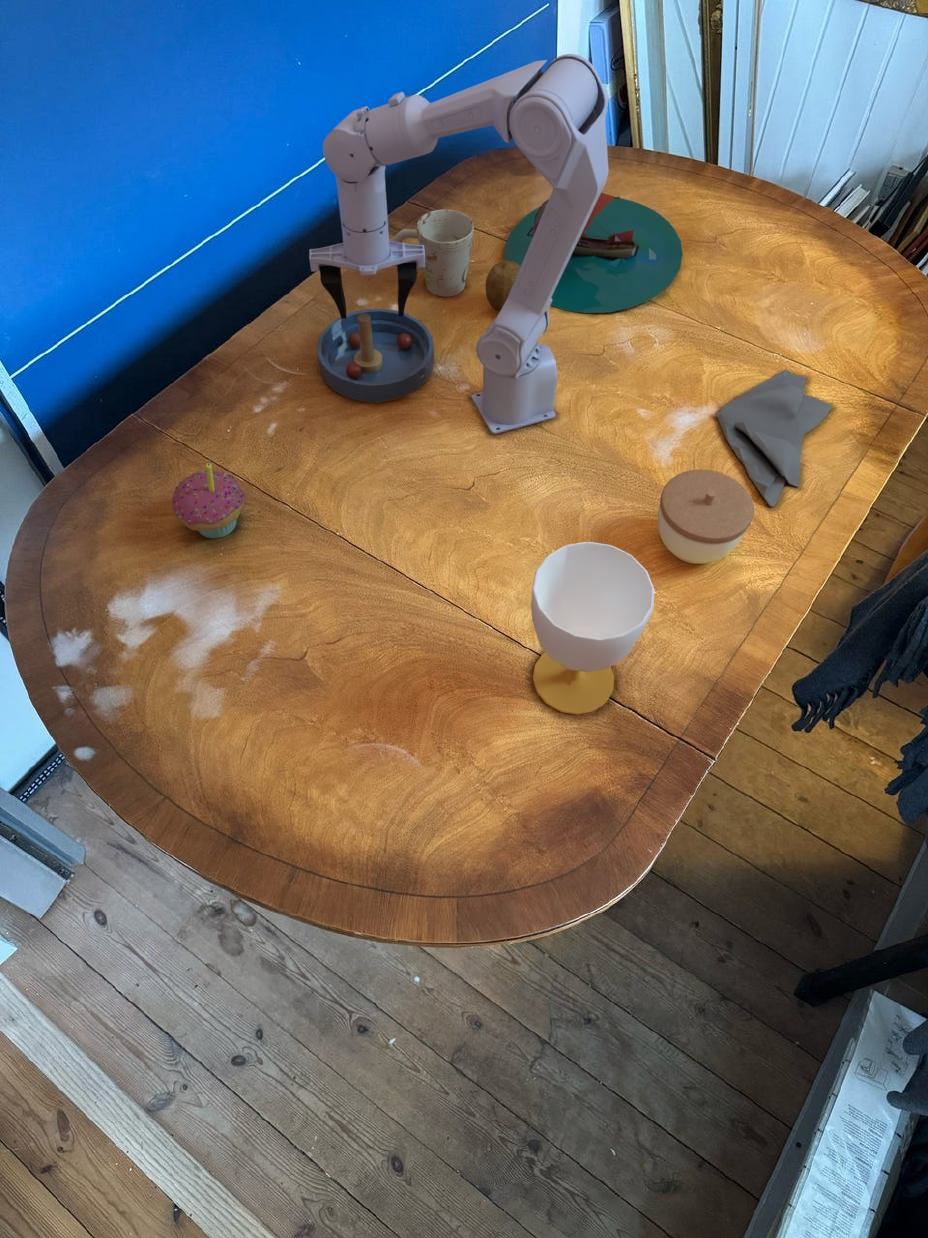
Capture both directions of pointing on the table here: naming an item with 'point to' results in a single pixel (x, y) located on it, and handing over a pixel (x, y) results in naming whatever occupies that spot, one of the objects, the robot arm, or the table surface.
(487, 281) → the fruit
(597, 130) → the robot arm
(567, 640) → the cup
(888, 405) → the table surface
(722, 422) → the cloth
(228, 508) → the cupcake
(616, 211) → the toy sailboat
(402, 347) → the bead
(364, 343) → the pestle
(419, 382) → the bowl
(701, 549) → the trinket box
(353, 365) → the bead
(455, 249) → the mug
